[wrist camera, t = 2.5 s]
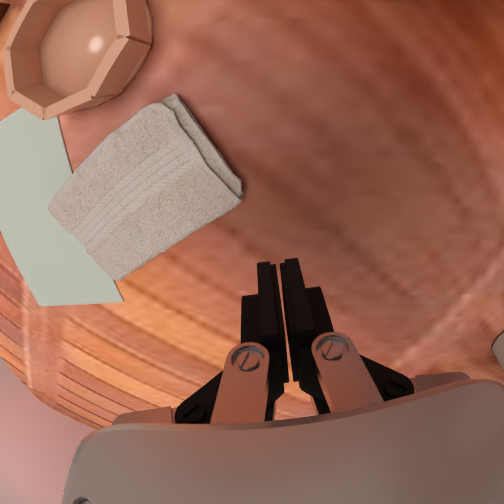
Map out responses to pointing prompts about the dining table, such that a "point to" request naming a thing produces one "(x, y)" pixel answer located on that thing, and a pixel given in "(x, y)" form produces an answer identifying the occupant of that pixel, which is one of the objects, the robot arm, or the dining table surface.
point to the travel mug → (499, 349)
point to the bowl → (75, 53)
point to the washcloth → (146, 188)
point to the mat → (44, 216)
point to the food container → (3, 9)
